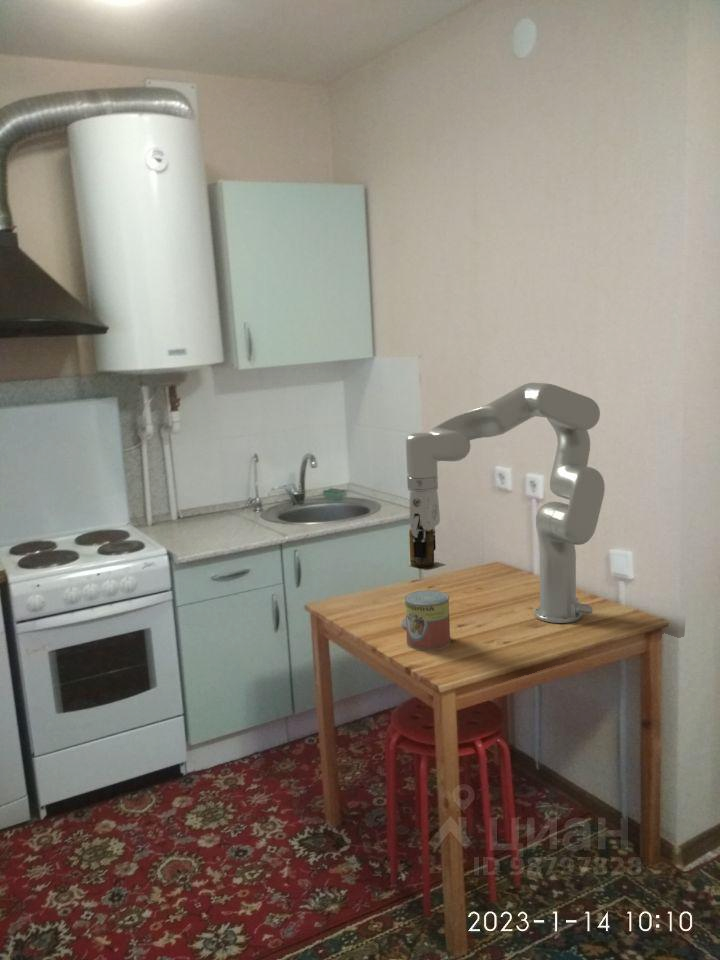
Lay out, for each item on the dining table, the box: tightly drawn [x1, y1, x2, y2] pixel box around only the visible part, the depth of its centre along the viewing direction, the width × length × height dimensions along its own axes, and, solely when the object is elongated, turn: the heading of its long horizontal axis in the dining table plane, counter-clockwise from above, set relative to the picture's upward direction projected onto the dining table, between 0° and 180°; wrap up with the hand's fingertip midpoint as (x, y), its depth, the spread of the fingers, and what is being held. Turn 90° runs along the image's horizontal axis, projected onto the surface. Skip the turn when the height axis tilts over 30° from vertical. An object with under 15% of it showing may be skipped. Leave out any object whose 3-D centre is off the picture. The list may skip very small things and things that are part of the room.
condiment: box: [402, 527, 447, 571], centre depth 197 cm, size 7×8×12 cm
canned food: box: [404, 590, 452, 652], centre depth 202 cm, size 11×11×12 cm
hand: (425, 552), depth 198 cm, fingers closed on condiment, 6 cm apart
